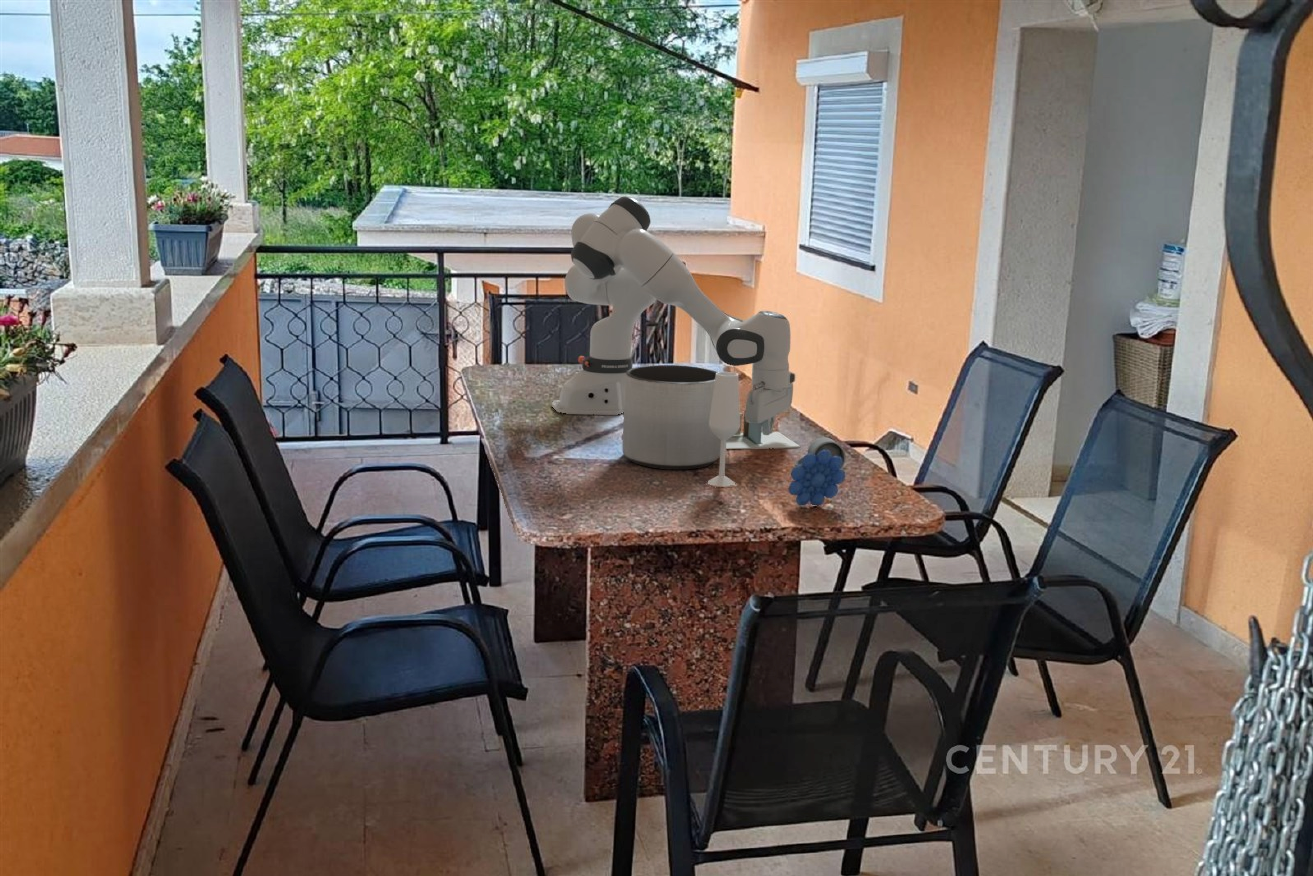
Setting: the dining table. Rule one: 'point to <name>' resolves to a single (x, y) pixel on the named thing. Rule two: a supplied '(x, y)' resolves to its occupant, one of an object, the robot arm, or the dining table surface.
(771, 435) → the card
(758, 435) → the light blue rectangular panel
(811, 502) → the grapes
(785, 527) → the dining table surface
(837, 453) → the ceramic mug
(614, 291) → the robot arm
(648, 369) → the planter
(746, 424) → the pine fence section
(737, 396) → the champagne flute
